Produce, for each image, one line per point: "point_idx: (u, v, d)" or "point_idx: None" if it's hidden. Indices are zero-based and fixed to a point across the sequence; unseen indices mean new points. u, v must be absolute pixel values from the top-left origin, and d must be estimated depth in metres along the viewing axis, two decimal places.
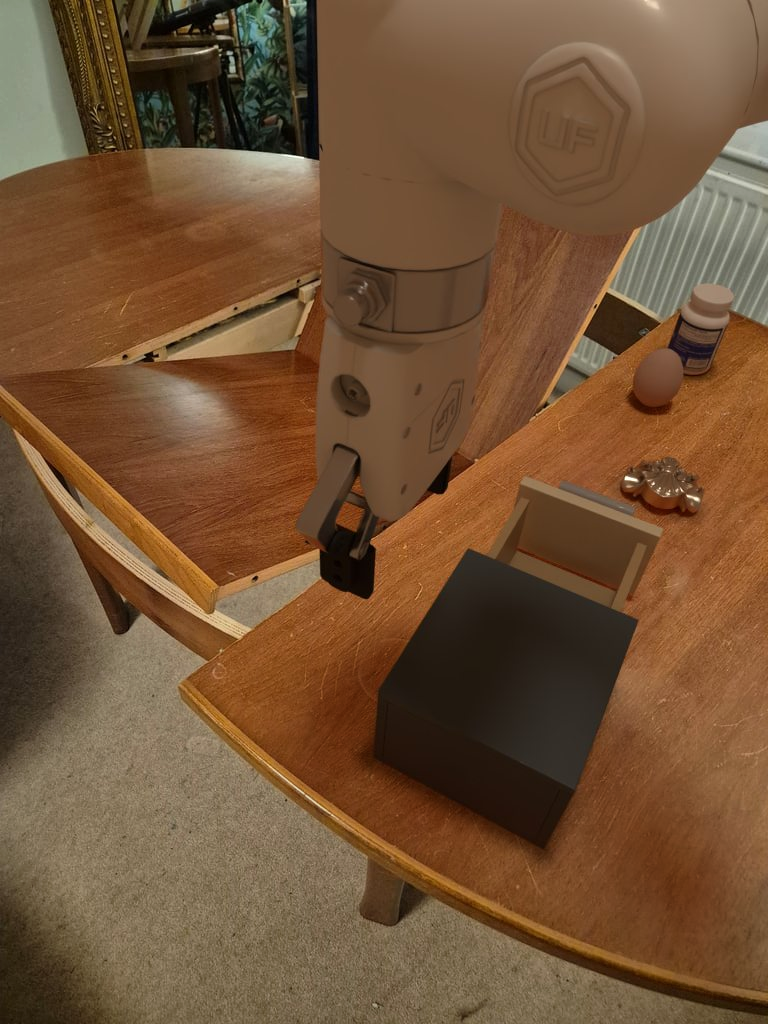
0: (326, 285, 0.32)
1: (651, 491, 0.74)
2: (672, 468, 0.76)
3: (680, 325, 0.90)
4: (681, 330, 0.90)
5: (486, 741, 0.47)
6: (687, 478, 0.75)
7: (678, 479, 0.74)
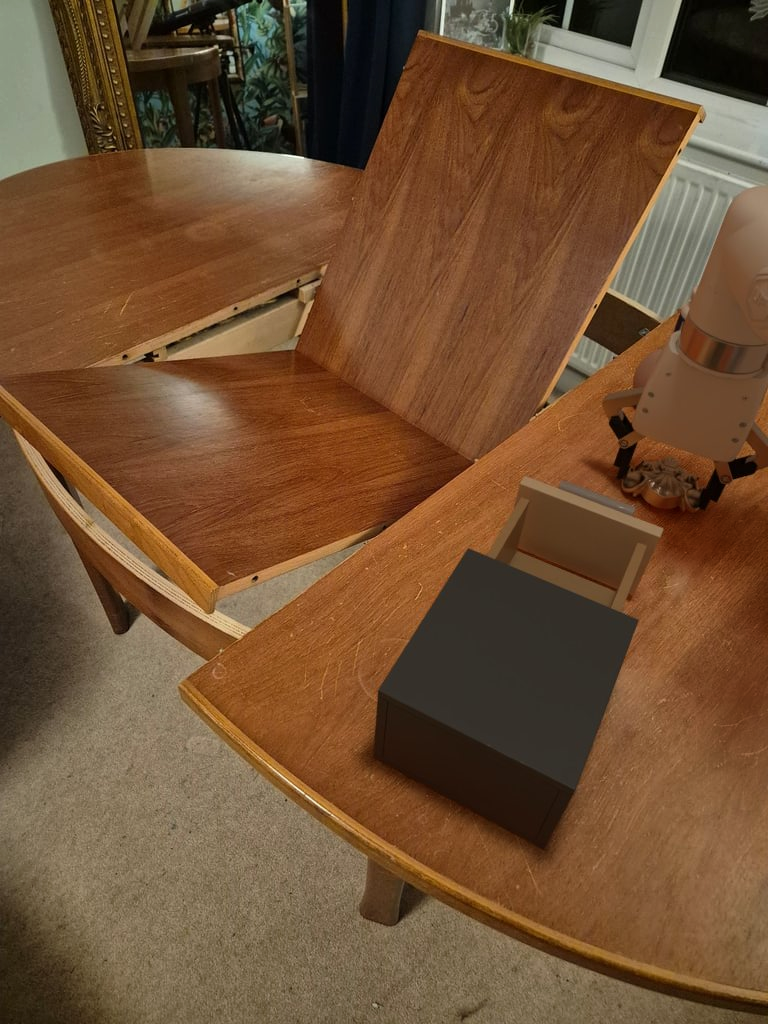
0: (755, 365, 0.62)
1: (651, 491, 0.74)
2: (672, 468, 0.76)
3: (680, 324, 0.90)
4: None
5: (486, 741, 0.47)
6: (687, 478, 0.75)
7: (678, 479, 0.74)
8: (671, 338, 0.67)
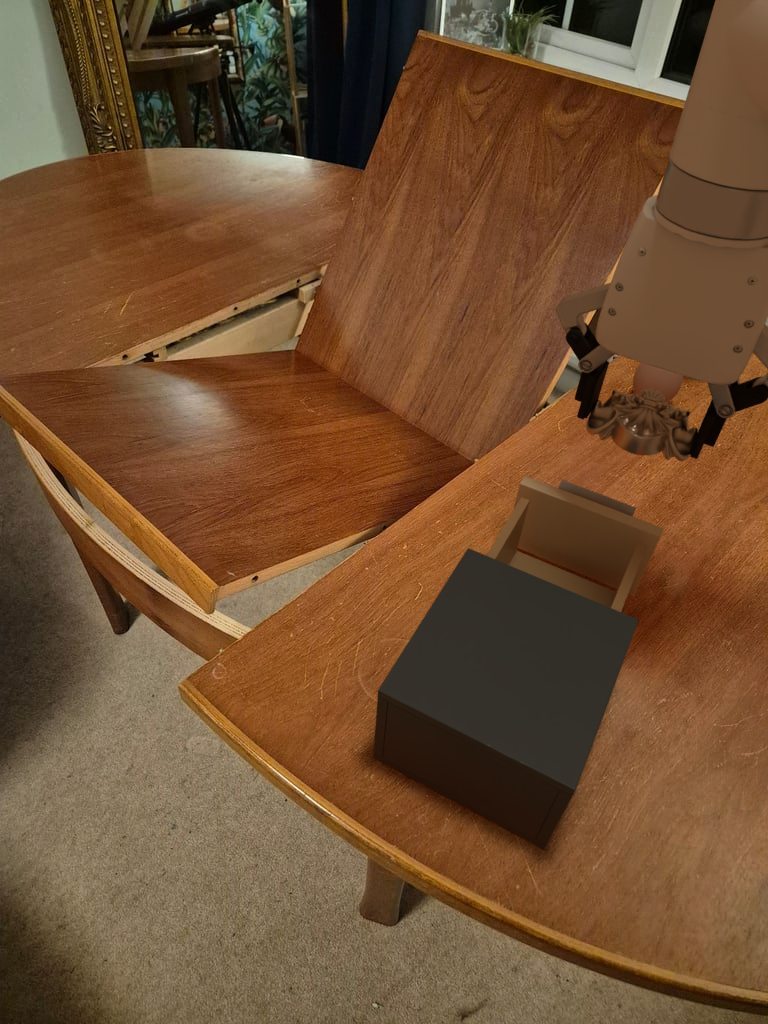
0: (767, 225, 0.42)
1: (624, 430, 0.54)
2: (654, 402, 0.56)
3: None
4: None
5: (486, 741, 0.47)
6: (674, 414, 0.55)
7: (661, 415, 0.54)
8: (647, 203, 0.47)
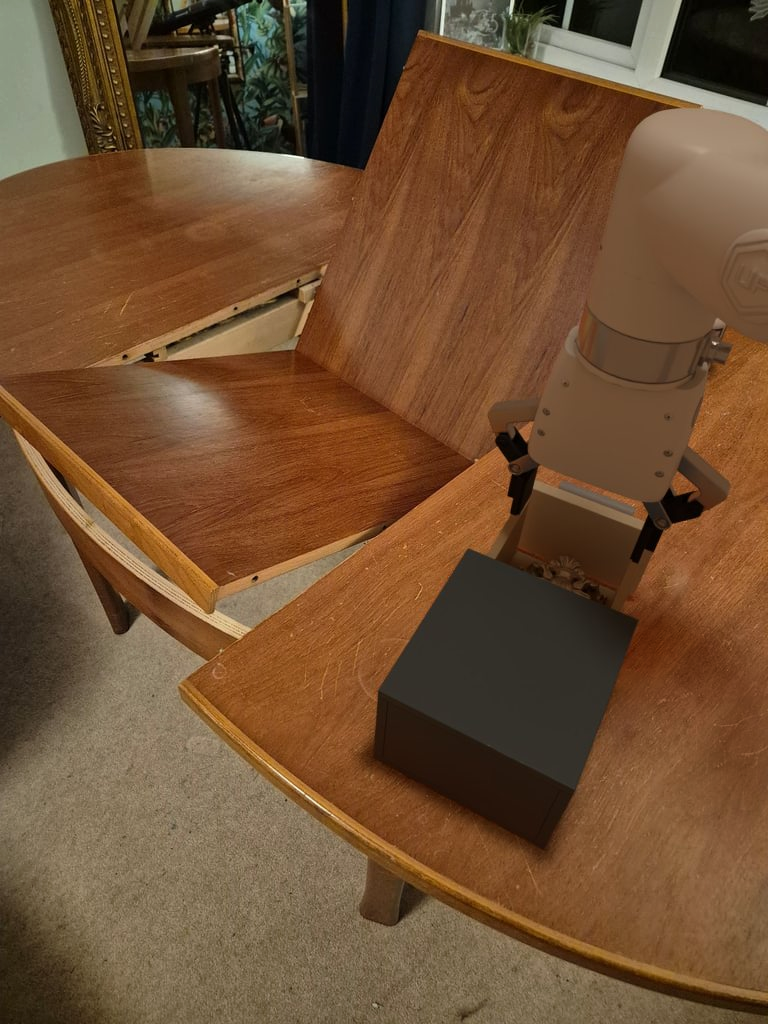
0: (678, 370, 0.44)
1: None
2: (569, 571, 0.63)
3: None
4: None
5: (486, 741, 0.47)
6: (585, 585, 0.62)
7: (574, 587, 0.61)
8: (570, 334, 0.48)
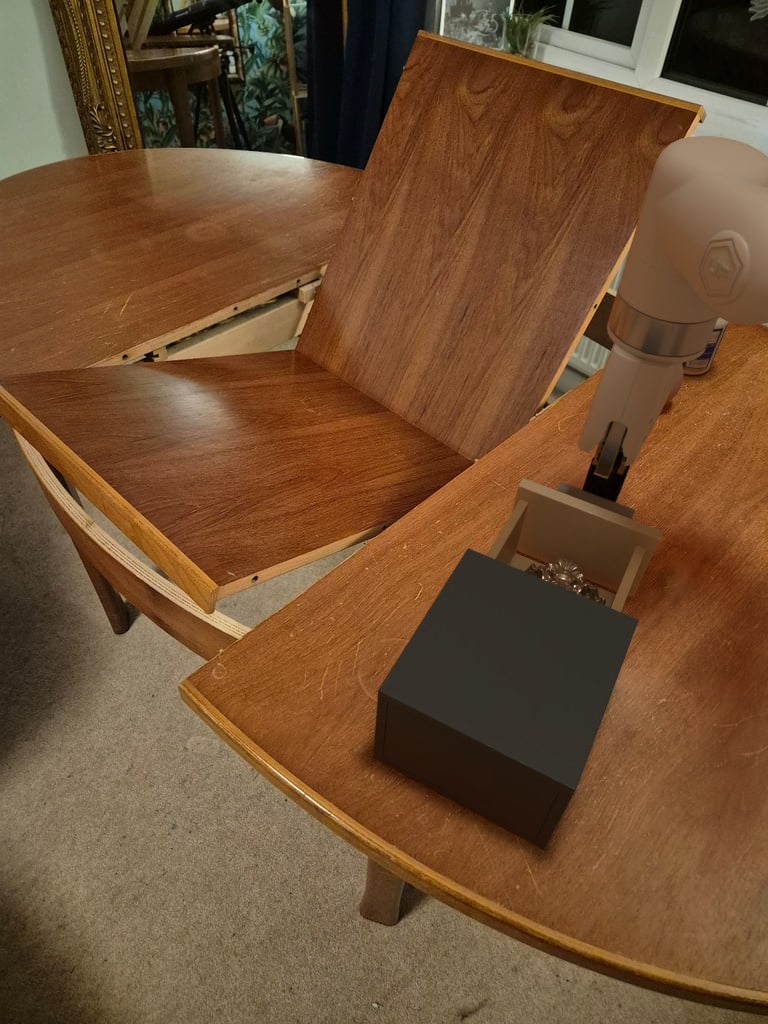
0: None
1: None
2: (567, 574, 0.63)
3: None
4: None
5: (486, 741, 0.47)
6: (584, 588, 0.61)
7: (572, 590, 0.61)
8: (637, 361, 0.55)
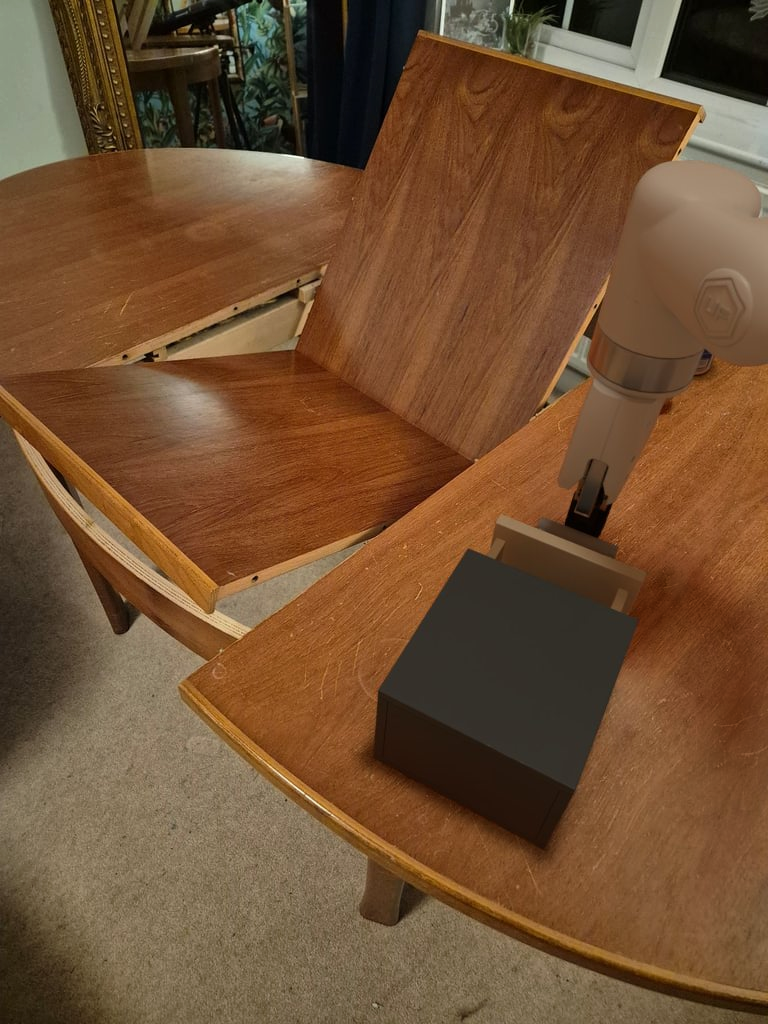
0: None
1: None
2: None
3: None
4: None
5: (486, 741, 0.47)
6: None
7: None
8: (618, 397, 0.51)
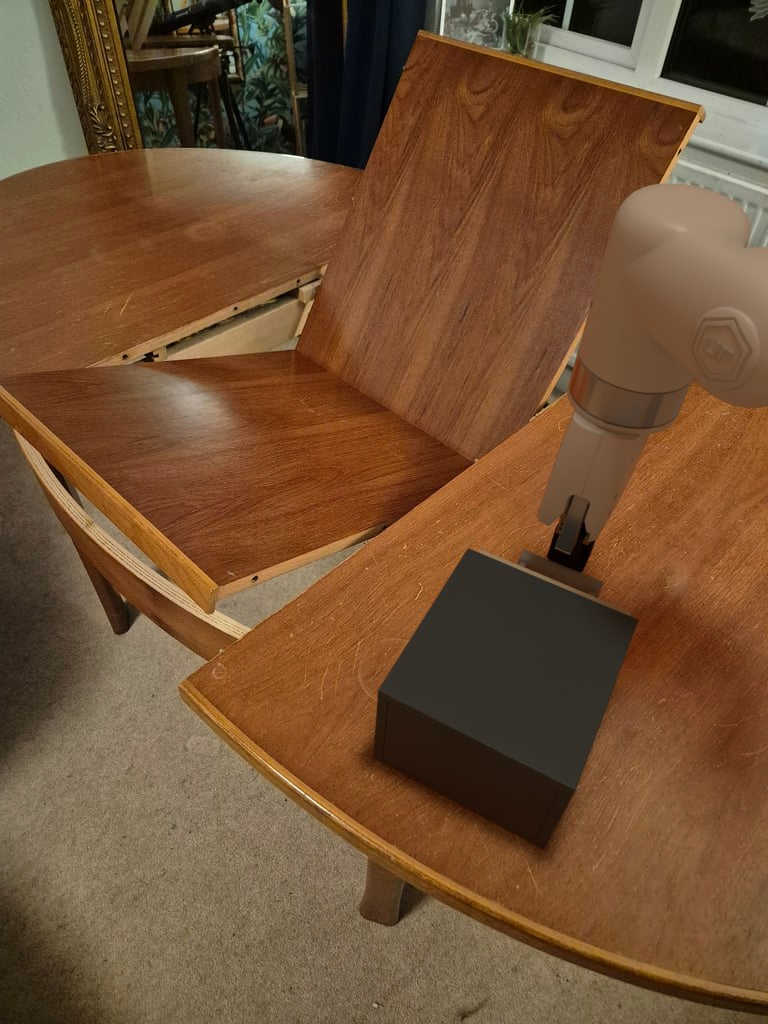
0: None
1: None
2: None
3: None
4: None
5: (486, 741, 0.47)
6: None
7: None
8: (599, 432, 0.48)
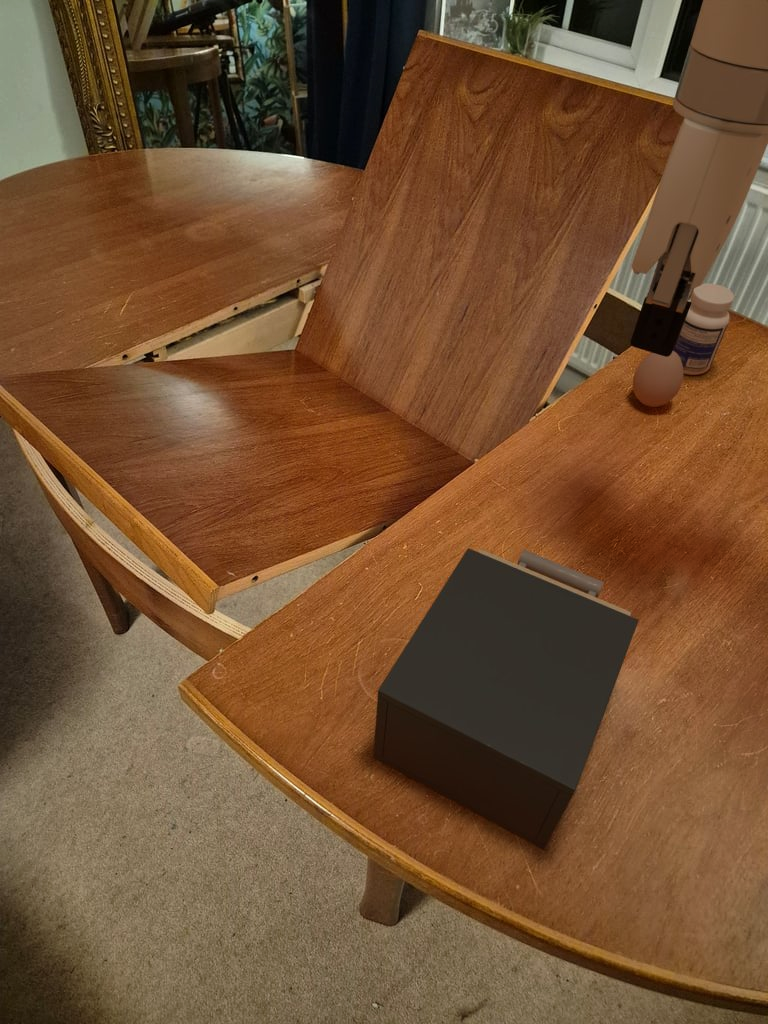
0: None
1: None
2: None
3: None
4: (681, 330, 0.90)
5: (486, 741, 0.47)
6: None
7: None
8: (716, 132, 0.43)
